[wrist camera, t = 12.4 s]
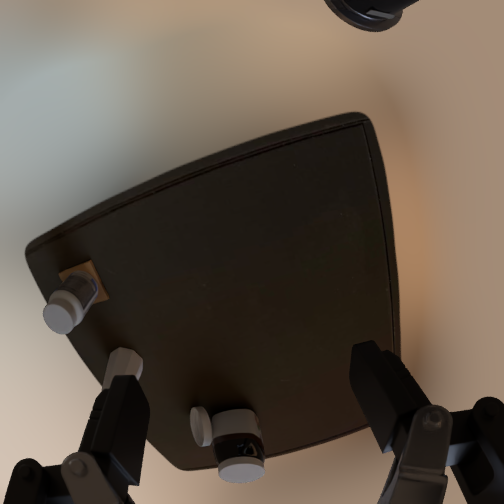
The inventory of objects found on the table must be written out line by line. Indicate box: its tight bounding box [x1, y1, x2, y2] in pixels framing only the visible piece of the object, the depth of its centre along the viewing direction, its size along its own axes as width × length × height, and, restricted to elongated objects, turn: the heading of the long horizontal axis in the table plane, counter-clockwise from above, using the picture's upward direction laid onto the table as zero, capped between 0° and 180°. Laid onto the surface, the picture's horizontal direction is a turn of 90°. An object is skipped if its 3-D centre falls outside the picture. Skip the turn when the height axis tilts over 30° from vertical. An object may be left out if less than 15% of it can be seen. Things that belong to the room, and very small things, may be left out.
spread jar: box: [190, 406, 265, 483], centre depth 41 cm, size 12×11×12 cm
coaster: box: [59, 260, 109, 304], centre depth 36 cm, size 6×6×1 cm
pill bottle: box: [43, 270, 98, 334], centre depth 32 cm, size 5×5×8 cm
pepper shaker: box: [102, 347, 143, 391], centre depth 36 cm, size 5×5×11 cm
